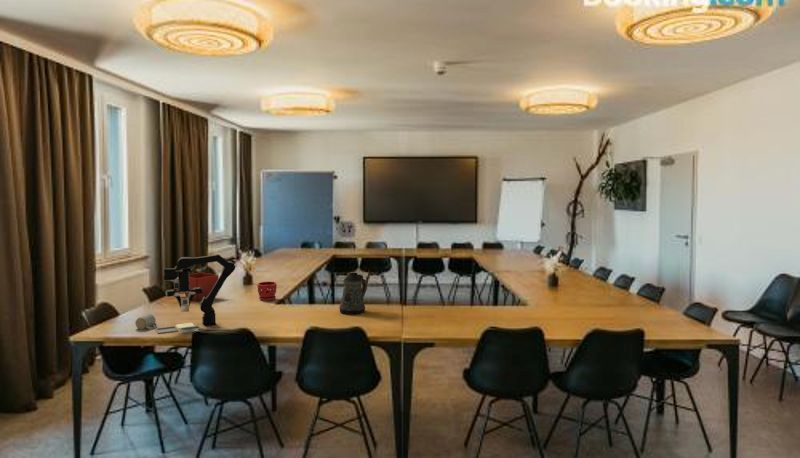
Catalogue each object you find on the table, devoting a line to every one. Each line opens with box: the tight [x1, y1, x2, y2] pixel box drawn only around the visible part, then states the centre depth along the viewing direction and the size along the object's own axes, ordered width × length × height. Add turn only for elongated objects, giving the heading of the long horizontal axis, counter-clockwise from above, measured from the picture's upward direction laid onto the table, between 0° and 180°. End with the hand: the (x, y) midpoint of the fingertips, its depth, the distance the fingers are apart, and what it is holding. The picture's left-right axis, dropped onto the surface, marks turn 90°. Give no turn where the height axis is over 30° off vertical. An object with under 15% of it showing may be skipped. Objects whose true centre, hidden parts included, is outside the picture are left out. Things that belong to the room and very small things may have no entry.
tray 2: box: [179, 325, 202, 335], centre depth 297 cm, size 10×10×1 cm
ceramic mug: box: [135, 313, 158, 330], centre depth 302 cm, size 11×8×8 cm
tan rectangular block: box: [179, 295, 190, 313], centre depth 306 cm, size 4×4×8 cm
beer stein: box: [338, 272, 368, 316], centre depth 345 cm, size 16×19×25 cm
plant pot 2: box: [256, 281, 277, 302], centre depth 381 cm, size 13×13×12 cm
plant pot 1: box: [184, 272, 220, 302], centre depth 384 cm, size 19×19×17 cm
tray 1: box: [154, 325, 179, 335], centre depth 296 cm, size 10×10×1 cm
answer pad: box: [175, 322, 195, 329], centre depth 307 cm, size 9×9×1 cm
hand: (184, 306), depth 306 cm, fingers closed on tan rectangular block, 4 cm apart
